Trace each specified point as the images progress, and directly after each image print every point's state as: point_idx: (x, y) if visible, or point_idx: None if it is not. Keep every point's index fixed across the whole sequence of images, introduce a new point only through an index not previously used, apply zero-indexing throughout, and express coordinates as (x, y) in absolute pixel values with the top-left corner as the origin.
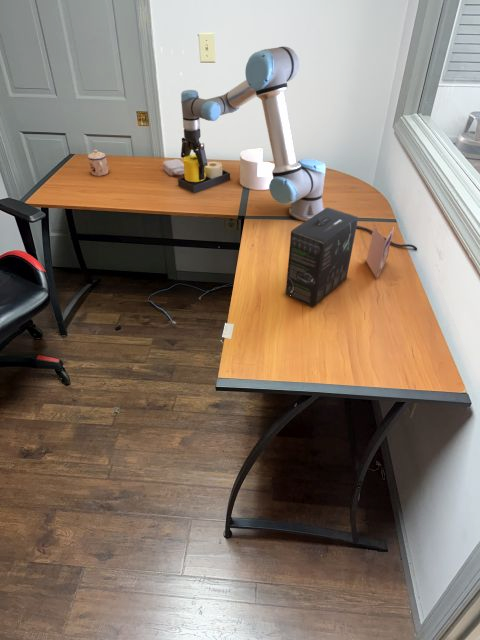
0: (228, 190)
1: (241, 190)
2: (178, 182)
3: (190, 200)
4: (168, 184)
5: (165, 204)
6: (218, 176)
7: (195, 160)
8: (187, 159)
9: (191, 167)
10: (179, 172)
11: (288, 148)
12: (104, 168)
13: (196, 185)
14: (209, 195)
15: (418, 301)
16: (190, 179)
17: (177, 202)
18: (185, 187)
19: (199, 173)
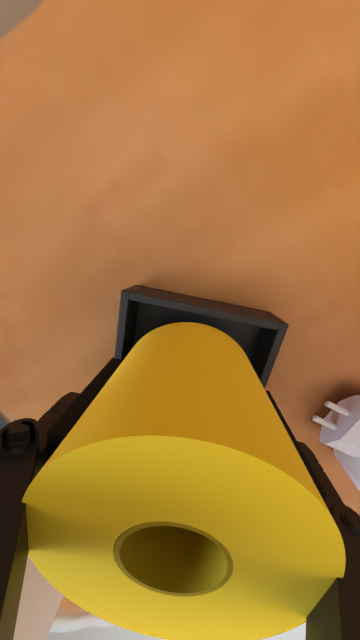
0: (44, 395)
1: (11, 419)
2: (274, 317)
3: (85, 199)
4: (336, 294)
5: (160, 22)
6: None
7: (93, 520)
8: (226, 505)
9: (120, 386)
10: (347, 416)
11: None
12: None
13: (119, 314)
14: (62, 311)
15: None
16: (167, 328)
17: (121, 118)
18: (206, 301)
19: (95, 386)
